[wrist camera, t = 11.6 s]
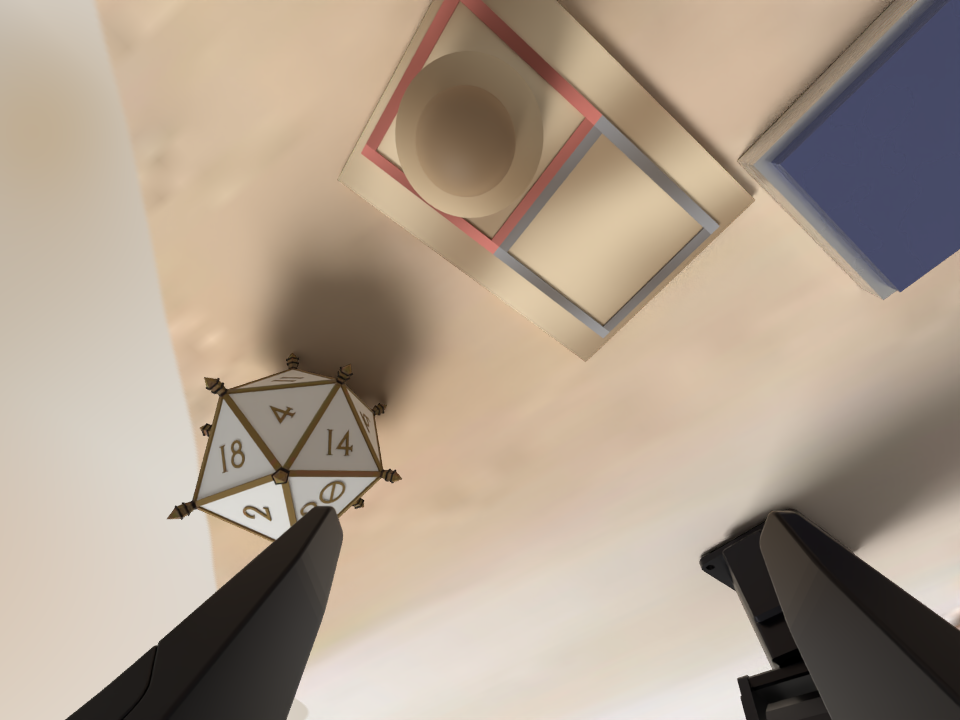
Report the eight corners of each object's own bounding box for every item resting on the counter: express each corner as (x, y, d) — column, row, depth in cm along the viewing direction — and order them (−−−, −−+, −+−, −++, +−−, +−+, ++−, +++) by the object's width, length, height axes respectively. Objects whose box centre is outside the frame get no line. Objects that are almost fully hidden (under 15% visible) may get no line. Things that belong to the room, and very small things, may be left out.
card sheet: (751, 198, 16) (756, 200, 16) (584, 358, 20) (586, 363, 20) (477, -77, 13) (475, -81, 13) (339, 178, 17) (336, 180, 17)
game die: (352, 333, 25) (355, 310, 15) (412, 467, 26) (450, 525, 16) (185, 399, 22) (62, 421, 13) (257, 545, 23) (192, 669, 14)
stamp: (492, 212, 17) (479, 273, 11) (405, 144, 16) (336, 167, 10) (561, 118, 15) (593, 126, 9) (469, 35, 14) (435, -21, 8)
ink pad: (1062, 137, 15) (1126, 140, 13) (862, 288, 18) (895, 306, 16) (940, -47, 13) (999, -67, 11) (737, 161, 16) (761, 167, 14)
